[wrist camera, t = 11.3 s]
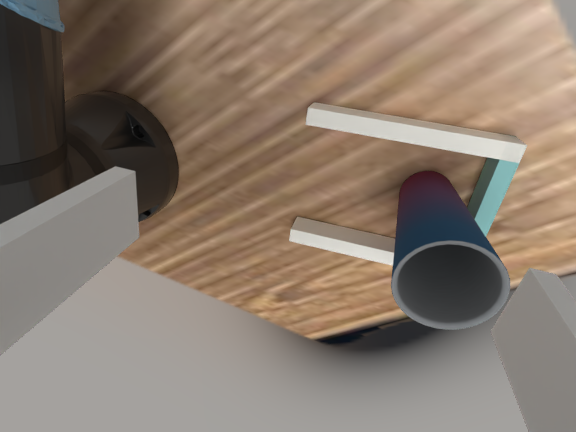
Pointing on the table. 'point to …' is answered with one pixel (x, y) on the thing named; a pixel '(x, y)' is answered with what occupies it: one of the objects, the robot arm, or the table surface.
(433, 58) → the table surface
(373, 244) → the bay
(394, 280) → the cup
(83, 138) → the robot arm
